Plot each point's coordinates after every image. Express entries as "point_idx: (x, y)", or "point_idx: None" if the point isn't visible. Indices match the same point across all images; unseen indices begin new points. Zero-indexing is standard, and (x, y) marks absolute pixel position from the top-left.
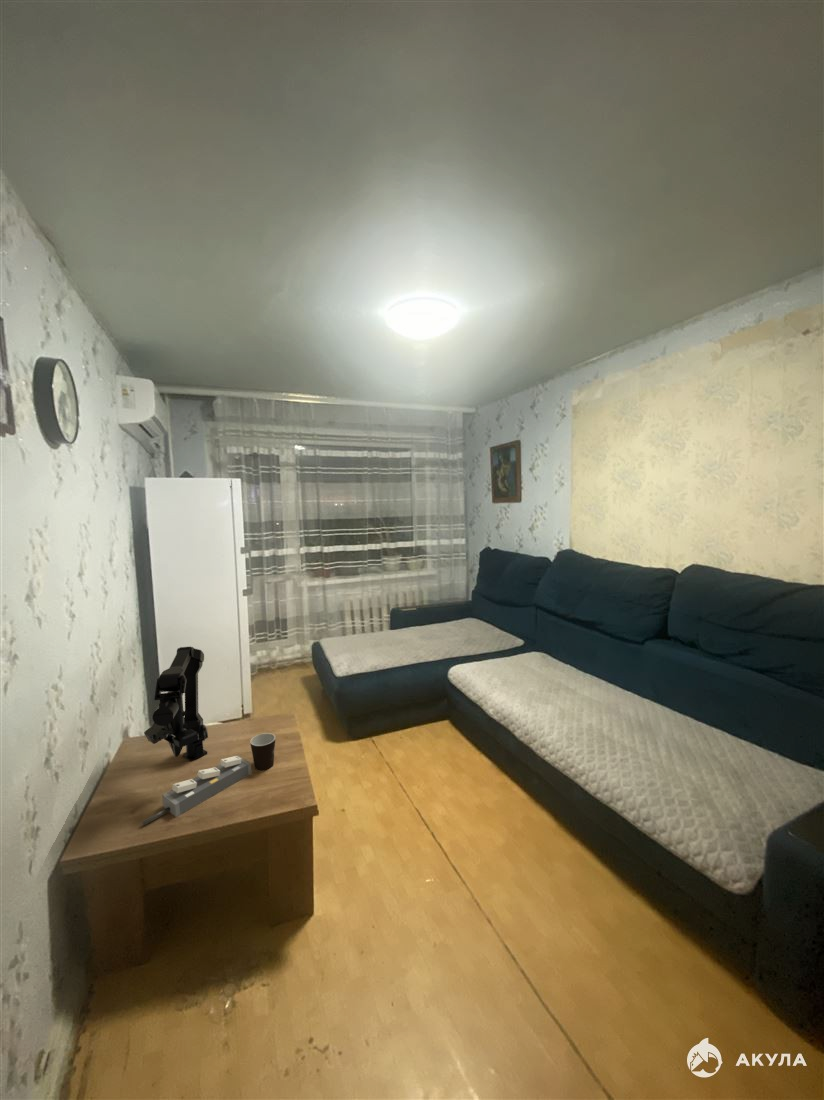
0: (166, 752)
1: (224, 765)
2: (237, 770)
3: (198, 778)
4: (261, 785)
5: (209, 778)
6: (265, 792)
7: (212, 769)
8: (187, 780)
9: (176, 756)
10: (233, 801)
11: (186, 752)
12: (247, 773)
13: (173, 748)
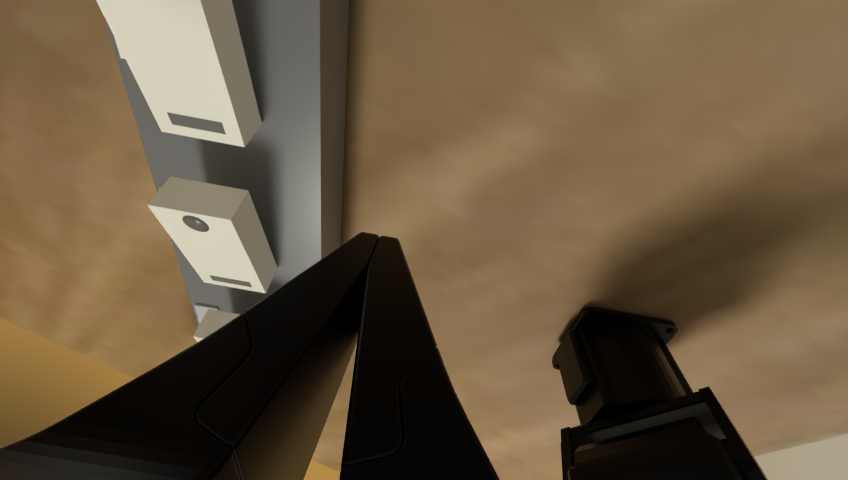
0: (805, 318)
1: (214, 318)
2: (195, 313)
3: (292, 194)
4: (124, 284)
5: None
6: (61, 259)
7: (231, 272)
8: (229, 111)
9: (356, 239)
10: (80, 164)
11: (650, 342)
12: None
13: (289, 326)
